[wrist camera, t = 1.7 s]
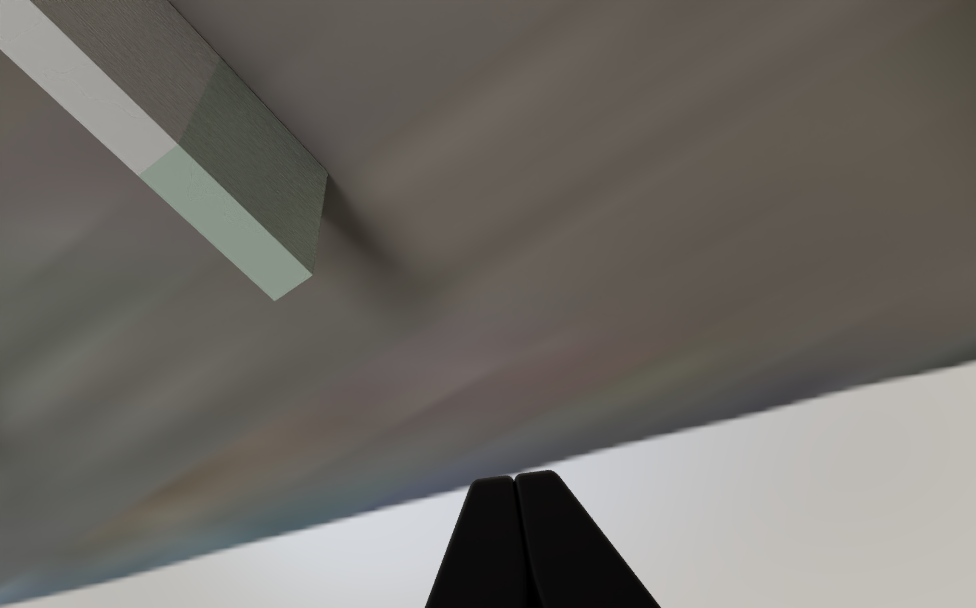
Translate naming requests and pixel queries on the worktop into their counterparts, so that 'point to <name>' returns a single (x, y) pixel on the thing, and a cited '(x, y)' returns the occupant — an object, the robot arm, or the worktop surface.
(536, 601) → the robot arm
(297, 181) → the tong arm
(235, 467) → the worktop surface
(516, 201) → the worktop surface
